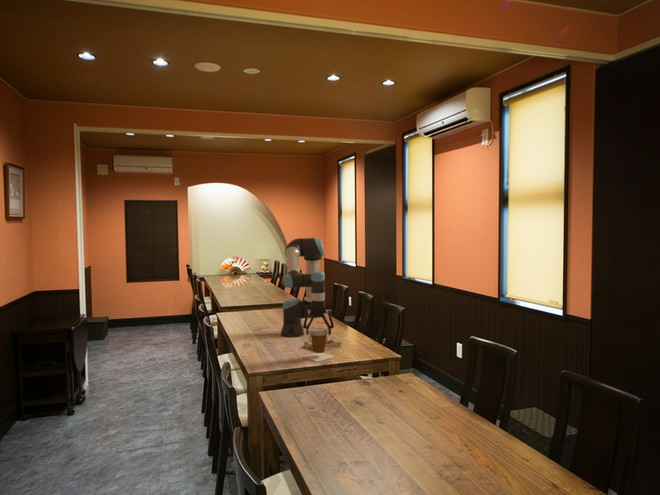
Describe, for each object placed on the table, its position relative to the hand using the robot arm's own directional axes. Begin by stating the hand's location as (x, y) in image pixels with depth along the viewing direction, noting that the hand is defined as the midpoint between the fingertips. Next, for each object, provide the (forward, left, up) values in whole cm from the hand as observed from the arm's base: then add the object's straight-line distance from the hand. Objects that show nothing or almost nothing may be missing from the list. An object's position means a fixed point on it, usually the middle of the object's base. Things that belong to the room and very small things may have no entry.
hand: (318, 340), depth 256 cm
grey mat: (0, 0, -9) cm, 9 cm away
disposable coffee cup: (0, 0, -6) cm, 6 cm away
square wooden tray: (-15, +15, -9) cm, 23 cm away
